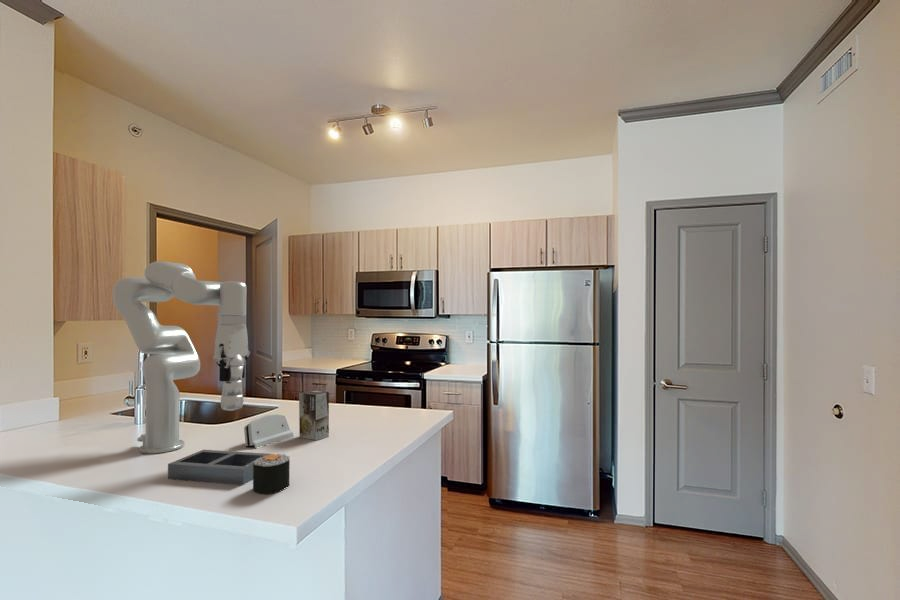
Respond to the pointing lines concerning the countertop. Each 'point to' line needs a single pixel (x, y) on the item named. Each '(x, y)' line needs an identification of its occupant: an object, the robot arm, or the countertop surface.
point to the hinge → (267, 430)
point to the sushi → (271, 473)
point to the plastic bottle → (233, 386)
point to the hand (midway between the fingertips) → (232, 378)
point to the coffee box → (314, 414)
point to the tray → (215, 466)
